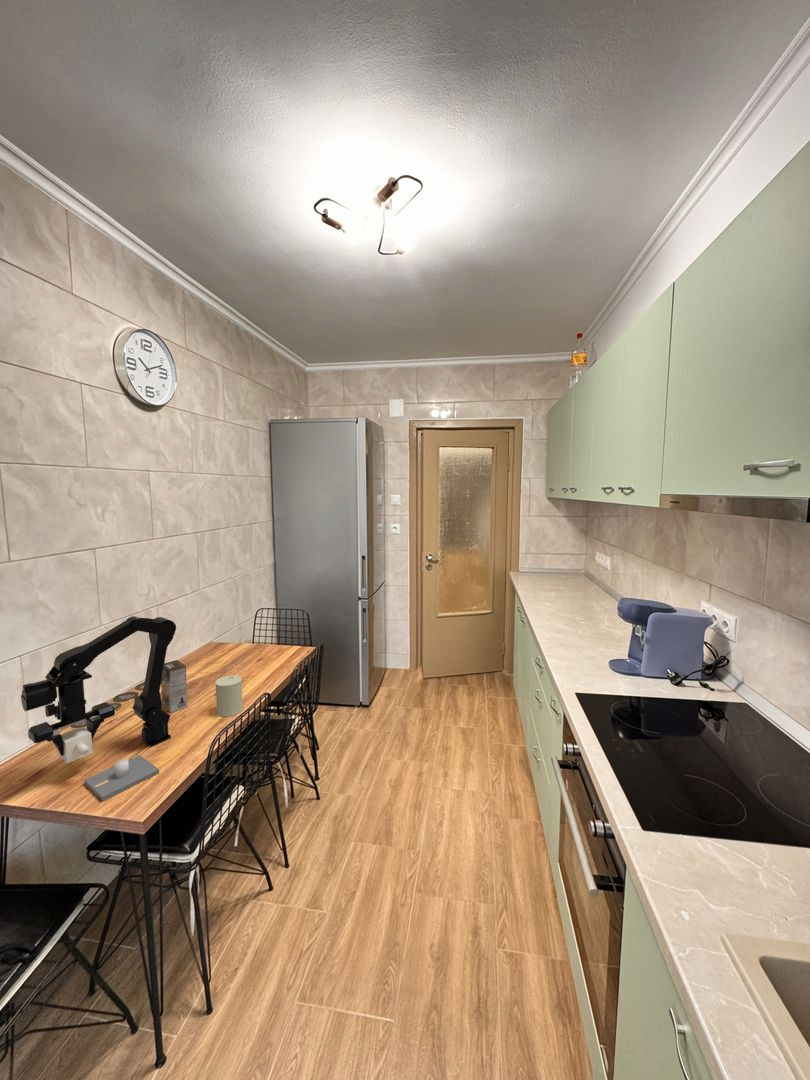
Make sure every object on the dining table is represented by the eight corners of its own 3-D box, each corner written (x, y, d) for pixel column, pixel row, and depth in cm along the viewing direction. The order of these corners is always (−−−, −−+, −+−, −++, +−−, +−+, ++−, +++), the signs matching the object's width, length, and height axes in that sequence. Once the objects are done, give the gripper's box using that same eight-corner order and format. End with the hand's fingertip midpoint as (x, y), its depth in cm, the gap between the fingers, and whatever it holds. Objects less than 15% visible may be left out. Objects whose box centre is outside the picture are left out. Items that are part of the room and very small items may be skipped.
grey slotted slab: (139, 758, 129) (138, 743, 129) (159, 773, 122) (158, 757, 122) (84, 783, 118) (83, 767, 117) (102, 801, 111) (101, 784, 110)
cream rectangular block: (84, 746, 127) (83, 726, 126) (97, 757, 121) (96, 737, 120) (59, 755, 122) (57, 735, 121) (71, 768, 116) (70, 746, 116)
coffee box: (161, 705, 163) (159, 664, 161) (179, 699, 167) (177, 659, 166) (170, 713, 157) (168, 670, 155) (188, 706, 161) (186, 665, 160)
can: (246, 704, 163) (245, 673, 162) (238, 716, 154) (236, 684, 153) (222, 704, 163) (220, 674, 162) (212, 716, 154) (210, 684, 153)
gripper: (98, 679, 133) (101, 727, 135) (19, 702, 118) (24, 756, 119) (113, 688, 127) (117, 738, 128) (32, 713, 111) (37, 770, 113)
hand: (75, 749), depth 122 cm, fingers closed on cream rectangular block, 6 cm apart
